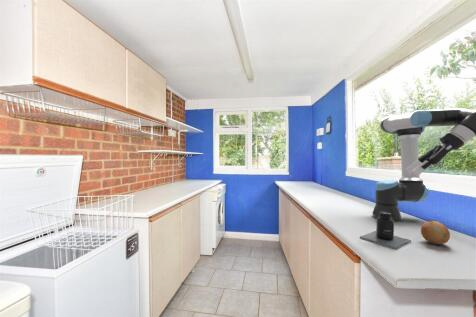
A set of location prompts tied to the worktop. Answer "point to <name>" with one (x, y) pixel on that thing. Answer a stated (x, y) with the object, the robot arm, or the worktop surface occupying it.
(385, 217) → the supplement bottle
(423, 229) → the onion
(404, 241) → the slate tile
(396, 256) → the worktop surface
